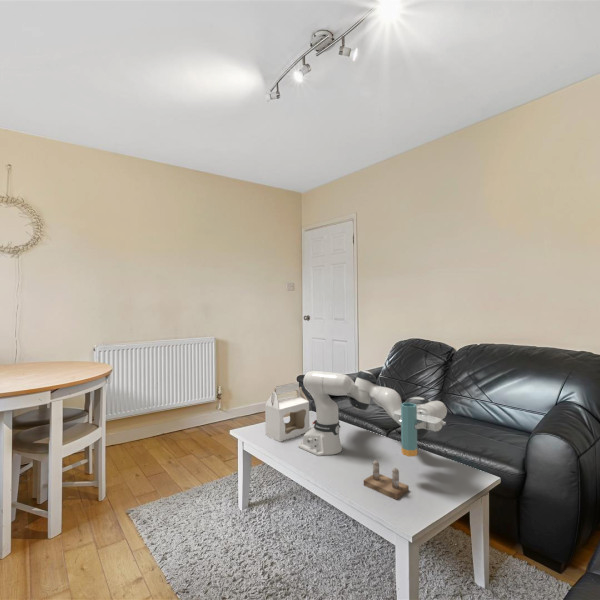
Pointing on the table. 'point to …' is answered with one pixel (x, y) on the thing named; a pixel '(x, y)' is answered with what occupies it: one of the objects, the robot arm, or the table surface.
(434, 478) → the table surface
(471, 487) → the table surface
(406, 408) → the sleeve
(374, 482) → the pin board
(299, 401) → the gable box
